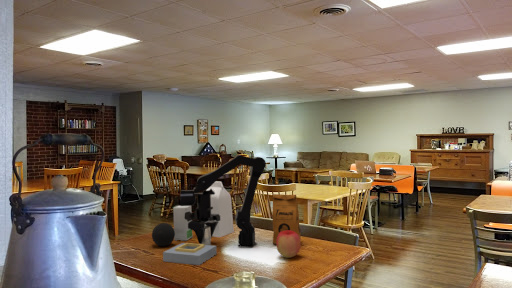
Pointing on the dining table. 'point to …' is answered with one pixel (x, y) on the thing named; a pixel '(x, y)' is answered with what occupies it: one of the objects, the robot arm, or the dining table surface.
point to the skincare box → (181, 223)
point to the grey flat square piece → (189, 253)
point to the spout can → (207, 236)
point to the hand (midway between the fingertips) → (205, 241)
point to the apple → (288, 243)
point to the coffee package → (285, 215)
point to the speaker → (163, 234)
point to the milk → (221, 209)
